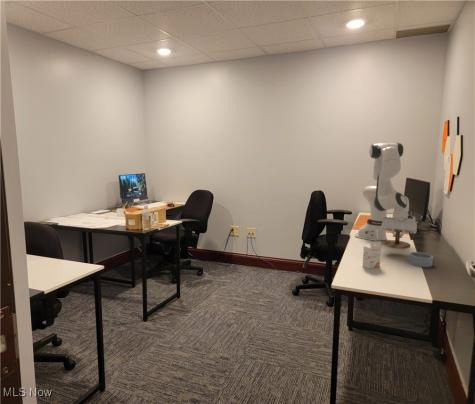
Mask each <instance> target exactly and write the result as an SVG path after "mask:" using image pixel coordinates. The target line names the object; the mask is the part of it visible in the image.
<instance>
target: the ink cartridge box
mask: <svg viewBox="0 0 475 404" xmlns="http://www.w3.org/2000/svg"><path fill="white" fill-rule="evenodd" d="M381 254H382V240H378V241H374V242H373V241H372V242H370V245H364V246H363V253H362V267H363V268H367V269H375V268H379V267H380V266H381Z"/></svg>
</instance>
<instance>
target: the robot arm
mask: <svg viewBox="0 0 475 404" xmlns="http://www.w3.org/2000/svg"><path fill="white" fill-rule="evenodd" d="M368 151H369V157H370V158H372V159H374V160H373V172H372V173H373V174H372V175H373V176H372V177H373V179H374V181H376V185H368V186H365V187H364V188H363V191H362V196H363V198H364V199H365V200H366V201H367V202H368V205H369V208H370V216H369V217H370V218H369V217H368V218H367V220H366V223H365V224H363V225H362V226H361V227H359V229H358V231H357V233H355V234H354V237H355V238H358V239H363V240H370V241H374V242H379V241H387V240H388V238H387V231H388V232H391V233H392V237H394V238H395V237H396V231H400V239H401V238H402V239H403V236H404V235H405V233H406V234H416V233H417V228H418V226H417V221H416V217H415V216H413V215H410V214H409V213H408V212H409V211H410V200H409V197H407V196H406V195H404V194H402V193H401V192H399V191H398V189H397V188H396V187H395V186H394V185H393V183H392V181H391V180H392V178H394V177H396V176H398V174H399V173H400V171H401V169H402V166H401V165H402V162H401V157H402V156H403V155H404V151H405V150H404V145H403V144H402V143H400V142H381V143H373V144H371V145H370V147H369V150H368ZM388 210H393V213H392V217H390V216H389V217H388V216H387V215H388Z"/></svg>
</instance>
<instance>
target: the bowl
mask: <svg viewBox="0 0 475 404" xmlns="http://www.w3.org/2000/svg"><path fill="white" fill-rule="evenodd" d="M433 261H434V255H431V253H430V254H429V253H427V252H426V253H425V252H420V251H417V252H416V251H412V252H409V256H408V263H409V264H411V265H414V266H416V267H422V268H430V267H433Z"/></svg>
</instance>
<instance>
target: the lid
mask: <svg viewBox="0 0 475 404" xmlns="http://www.w3.org/2000/svg"><path fill="white" fill-rule="evenodd" d="M395 233H396V237H394V240H392V239H389V240H388V239H387V240H383V245H384V246H386V247H389V248H394V249H398V250H399V249H402V250H405V249H409V248H411V243H408V242H407V241H406V242H405V241H401V238H400V234H401V232H400V231H395Z"/></svg>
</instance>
